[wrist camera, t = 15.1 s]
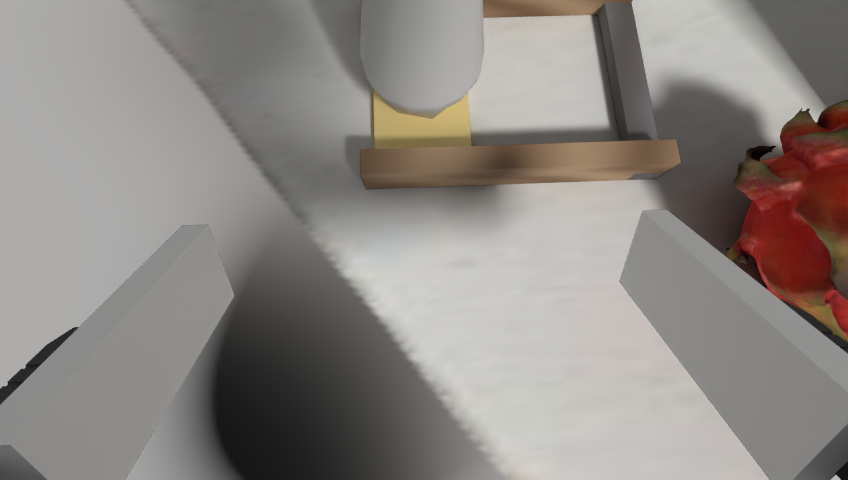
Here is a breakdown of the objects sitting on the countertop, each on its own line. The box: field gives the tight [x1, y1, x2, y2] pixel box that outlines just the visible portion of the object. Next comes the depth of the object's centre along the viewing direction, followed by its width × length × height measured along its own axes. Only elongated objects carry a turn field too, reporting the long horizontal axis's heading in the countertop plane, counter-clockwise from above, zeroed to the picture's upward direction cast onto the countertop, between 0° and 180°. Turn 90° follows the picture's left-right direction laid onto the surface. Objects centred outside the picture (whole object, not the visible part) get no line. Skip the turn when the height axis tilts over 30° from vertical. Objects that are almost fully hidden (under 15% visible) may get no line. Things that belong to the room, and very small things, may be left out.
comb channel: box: [360, 0, 681, 189], centre depth 20 cm, size 15×11×2 cm
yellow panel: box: [374, 89, 471, 149], centre depth 20 cm, size 5×9×1 cm, turn 3°
